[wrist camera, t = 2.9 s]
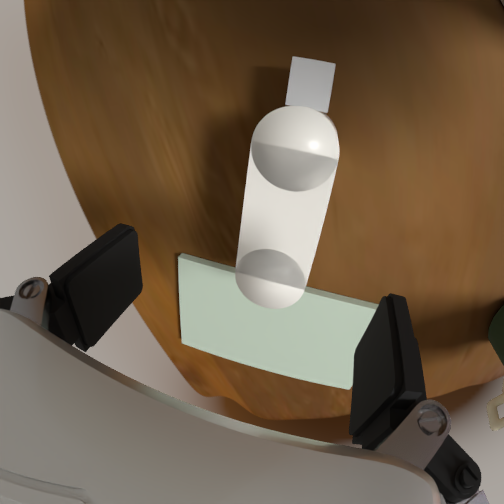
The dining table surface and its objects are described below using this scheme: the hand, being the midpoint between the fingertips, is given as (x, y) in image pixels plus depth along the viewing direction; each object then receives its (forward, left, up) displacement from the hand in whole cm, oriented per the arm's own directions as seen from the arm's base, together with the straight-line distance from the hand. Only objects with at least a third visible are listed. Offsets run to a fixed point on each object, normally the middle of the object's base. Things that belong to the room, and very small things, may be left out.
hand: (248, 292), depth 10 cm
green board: (-1, +14, -12) cm, 19 cm away
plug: (0, -1, -12) cm, 12 cm away
